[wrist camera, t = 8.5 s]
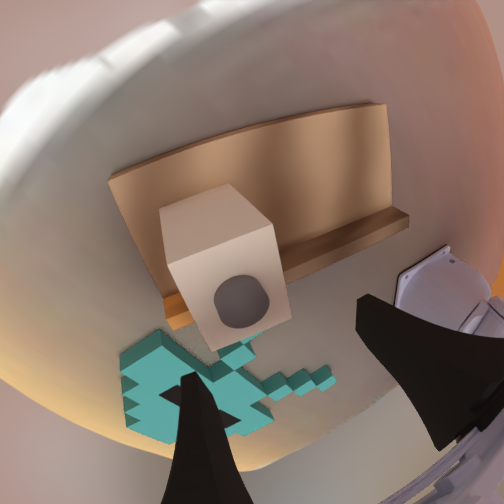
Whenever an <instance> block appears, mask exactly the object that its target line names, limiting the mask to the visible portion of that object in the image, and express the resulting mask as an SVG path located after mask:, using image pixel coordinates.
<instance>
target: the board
mask: <svg viewBox="0 0 504 504" xmlns="http://www.w3.org/2000/svg"><path fill="white" fill-rule="evenodd" d="M108 183H109V186H110V188H111V190H112V193H113V195H114V198H115V200H116V202H117V205H118V207H119V209H120V212H121V214H122V216H123V218H124V221H125V223H126V225H127V227H128V230H129V232H130V234H131V236H132V238H133V240H134V242H135V244H136V247H137V249H138V251H139V253H140V255H141V257H142V259H143V261H144V263H145V265H146V267H147V269H148V271H149V273H150V275H151V277H152V279H153V280H154V282H155V284H156V286H157V288H158V290H159V292H160V294H161V295H162V297H163V300H164V307H165V314H166V319H167V321H168V323H169V324H170V326H171V328H172V329H173V330H176V329H178V328H181V327H184V326H186V325H189V324H191V323H194V322H195V321H194V319H193V317H192V315H191V313H190V311H189V309H188V307H187V305H186V303H185V301H184V299H183V297H182V295H181V293H180V291H179V289H178V287H177V285H176V283H175V281H174V279H173V277H172V275H171V273H170V270H169V268H168V266H167V262H166V256H165V249H164V243H163V236H162V228H161V221H160V213H159V209H160V208H162V207H165V206H167V205H170V204H173V203H175V202H178V201H180V200H183V199H186V198H188V197H191V196H194V195H196V194H199V193H202V192H204V191H207V190H210V189H213V188H216V187H218V186H221V185H224V184H227V183H229V184H230V185H231V186H232V187H234V188H235V189H236V190H237V191H238V192H239V193H240V194H241V195H242V196H243V197H244V198H246V199H247V200H248V201H249V202H250V203H251V204H252V205H253V206H254V207H255V208H256V209H257V210H258V211H259V212H261V213H262V214H263V215H264V216H265V217H266V218H267V219H268V220H269V221H270V222H271V223H272V224H273V228H274V232H275V237H276V242H277V246H278V251H279V256H280V261H281V266H282V271H283V275H284V280H285V285H286V284H288V283H291V282H293V281H295V280H297V279H300V278H302V277H304V276H306V275H309V274H311V273H313V272H315V271H318V270H320V269H322V268H324V267H326V266H329V265H331V264H333V263H335V262H337V261H339V260H342V259H344V258H346V257H348V256H350V255H352V254H354V253H356V252H359V251H361V250H363V249H365V248H367V247H369V246H371V245H373V244H375V243H377V242H379V241H381V240H383V239H386V238H388V237H390V236H392V235H394V234H396V233H398V232H400V231H402V230H404V229H406V228H408V227H409V215H408V214H406V213H404V212H402V211H400V210H399V209H397V208H395V207H393V206H392V183H391V156H390V140H389V128H388V118H387V109H386V104H380V103H365V104H358V105H351V106H344V107H338V108H332V109H326V110H320V111H315V112H309V113H304V114H300V115H295V116H290V117H286V118H281V119H277V120H273V121H268V122H264V123H260V124H257V125H253V126H249V127H245V128H242V129H238V130H234V131H231V132H228V133H224V134H221V135H218V136H214V137H211V138H208V139H205V140H202V141H199V142H196V143H193V144H190V145H187V146H184V147H181V148H178V149H175V150H173V151H170V152H167V153H164V154H162V155H159V156H156V157H154V158H151V159H149V160H146V161H144V162H141V163H139V164H136V165H134V166H132V167H129V168H127V169H124V170H122V171H120V172H118V173H115V174H113V175H111V177H110V178H109V180H108Z"/></svg>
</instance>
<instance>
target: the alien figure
mask: <svg viewBox="0 0 504 504" xmlns="http://www.w3.org/2000/svg"><path fill="white" fill-rule="evenodd" d="M264 331H265V330H264ZM264 331H262V332H264ZM262 332H260V333H257V334H255V335H253V336H250V337H248V338H246V339H243V340H241V341H238V342H236V343H233V344H231V345H228V346H226V347H223V348H221V349H218V350H217V351H218V354H219V357H220V359H221V361H219V362H217V363H216V364H214V365H212V366H211V367H209V368H208V367H206V366H205V365H204V364H202V363H201V362H200V361H199V360H197V359H196V358H195V357H193V356H192V355H191V354H189V353H188V352H187V351H186V350H184V349H183V348H182V347H181V346H179V345H178V344H177V343H176V342H174V341H173V340H172V339H171V338H170V337H168V336H167V335H166V334H165V333H164V332H162V331H161V330H160V329H158V330H157V331H155V332H154V333H152V334H151V335H149V336H148V337H146V338H145V339H143V340H142V341H140V342H139V343H137V344H136V345H134V346H133V347H131V348H130V349H128V350H127V351H125V352H124V353H122V354H121V355H120V372H121V373H122V374H124V375H126V376H124V377H123V378H121V385H122V395H124V396H125V397H123V404H124V413H125V419H126V427H127V428H129V429H131V430H134V431H136V432H138V433H141V434H143V435H146V436H148V437H151V438H153V439H156V440H158V441H161V442H164V443H167V444H172V443H174V442H176V437H177V430H178V419H179V407H180V378H181V376H183V375H186V374H189V373H191V372H194V371H196V372H197V373H198V375H199V376H200V378H201V379H202V381H203V382H204V383H205V385H206V386H207V388H208V389H209V390H210V392H211V393H212V395H213V397H214V399H215V402H216V405H217V407H218V410H219V412H220V415H221V418H222V421H223V425H224V428H225V432H226V435H227V437H228V436H230V435H232V434H234V433H237V434H240V435H242V436H246V435H248V434H250V433H252V432H254V431H256V430H258V429H260V428H262V427H264V426H265V425H267V424H269V423H271V422H273V421H275V420H274V418H273V416H272V414H271V412H270V410H269V409H268V408H266V407H264V406H263V405H261V404H260V403H258V402H257V401H259V400H260V399H262V398H264V397H266V396H267V395H268V396H269V397H270V398H272V399H273V400H274V401H278V400H279V399H281V398H283V397H284V396H286V395H288V394H289V393H291V392H293V391H294V392H295V393H296V394H297V395H298V396H300V397H301V396H302V395H304V394H305V393H307V392H309V391H310V390H312V389H313V388H315V387H316V386H317V387H318V388H319V390H320V391H321V392H322V391H324V390H325V389H327V388H328V387H330V386H331V385H333V384H334V383H336V382H337V380H336V379H335V377H334V376H333V374H332V373H331V372H330V370H329V369H328V367H327V366H326V365H324V366H323V367H322V368H320V369H319V370H317V371H316V372H314V373H313V374H311V375H309V374H308V373H307V372H306V371H305V369H302V370H300V371H299V372H297V373H296V374H294V375H293V376H291V377H290V378H288V379H286V378H285V377H284V376H283V375H282V374H281V373H280V372H278V373H276V374H275V375H273V376H272V377H270V378H268V379H267V380H265V381H263V382H262V383H261V382H260V381H258V380H257V379H256V378H255V377H253V376H252V375H251V374H250V373H248V372H247V371H246V370H245V369H244V368H242V367H241V366H243V365H244V364H246V363H248V362H249V361H251V360H252V359H254V358H256V355H255V353H254V351H253V349H252V347H251V345H250V343H249V341H250V340H252V339H253V338H255V337H256V336H258V335H259V334H261V333H262Z"/></svg>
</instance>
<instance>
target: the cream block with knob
mask: <svg viewBox="0 0 504 504" xmlns="http://www.w3.org/2000/svg"><path fill="white" fill-rule="evenodd" d="M159 213H160V221H161V228H162V236H163V243H164V249H165V256H166V262H167V266H168V268H169V270H170V273H171V275H172V277H173V279H174V281H175V283H176V285H177V287H178V289H179V291H180V293H181V295H182V297H183V299H184V301H185V303H186V305H187V307H188V309H189V311H190V313H191V315H192V317H193V319H194V321H195V322H196V324H197V326H198V328H199V330H200V332H201V334H202V336H203V337H204V339H205V341H206V343H207V345H208V346H209V348H210V350H211V352H213V351H216V350H218V349H221V348H223V347H226V346H228V345H231V344H233V343H236V342H238V341H241V340H243V339H246V338H248V337H250V336H253V335H255V334H257V333H260V332H262V331H264V330H267V329H269V328H271V327H273V326H276V325H278V324H280V323H282V322H285V321H287V320H289V319H291V318H292V316H291V311H290V306H289V300H288V295H287V290H286V285H285V280H284V275H283V271H282V266H281V261H280V256H279V251H278V246H277V242H276V237H275V232H274V228H273V224H272V223H271V222H270V221H269V220H268V219H267V218H266V217H265V216H264V215H263V214H262V213H261V212H259V211H258V210H257V209H256V208H255V207H254V206H253V205H252V204H251V203H250V202H249V201H248V200H247V199H246V198H244V197H243V196H242V195H241V194H240V193H239V192H238V191H237V190H236V189H235V188H234V187H232V186H231V185H230V184H229V183H227V184H224V185H221V186H218V187H216V188H213V189H210V190H207V191H204V192H202V193H199V194H196V195H194V196H191V197H188V198H186V199H183V200H180V201H178V202H175V203H173V204H170V205H167V206H165V207H162V208H160V209H159Z"/></svg>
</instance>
